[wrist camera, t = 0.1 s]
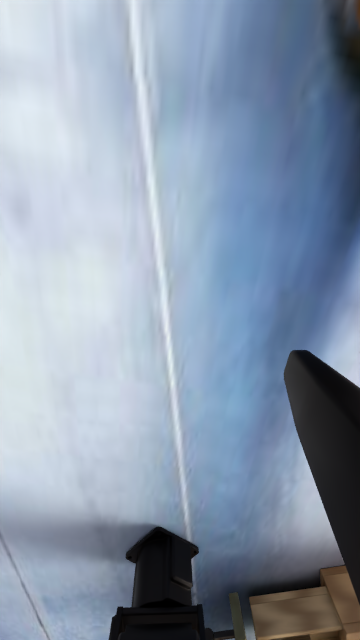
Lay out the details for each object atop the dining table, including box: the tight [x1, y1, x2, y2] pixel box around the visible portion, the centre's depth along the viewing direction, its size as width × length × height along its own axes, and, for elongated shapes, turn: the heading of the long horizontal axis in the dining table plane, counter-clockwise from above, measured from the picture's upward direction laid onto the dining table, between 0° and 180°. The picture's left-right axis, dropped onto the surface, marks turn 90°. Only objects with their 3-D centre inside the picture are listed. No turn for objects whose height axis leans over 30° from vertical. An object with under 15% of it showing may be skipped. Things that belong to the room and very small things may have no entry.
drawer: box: [205, 586, 343, 640], centre depth 37 cm, size 19×13×4 cm
